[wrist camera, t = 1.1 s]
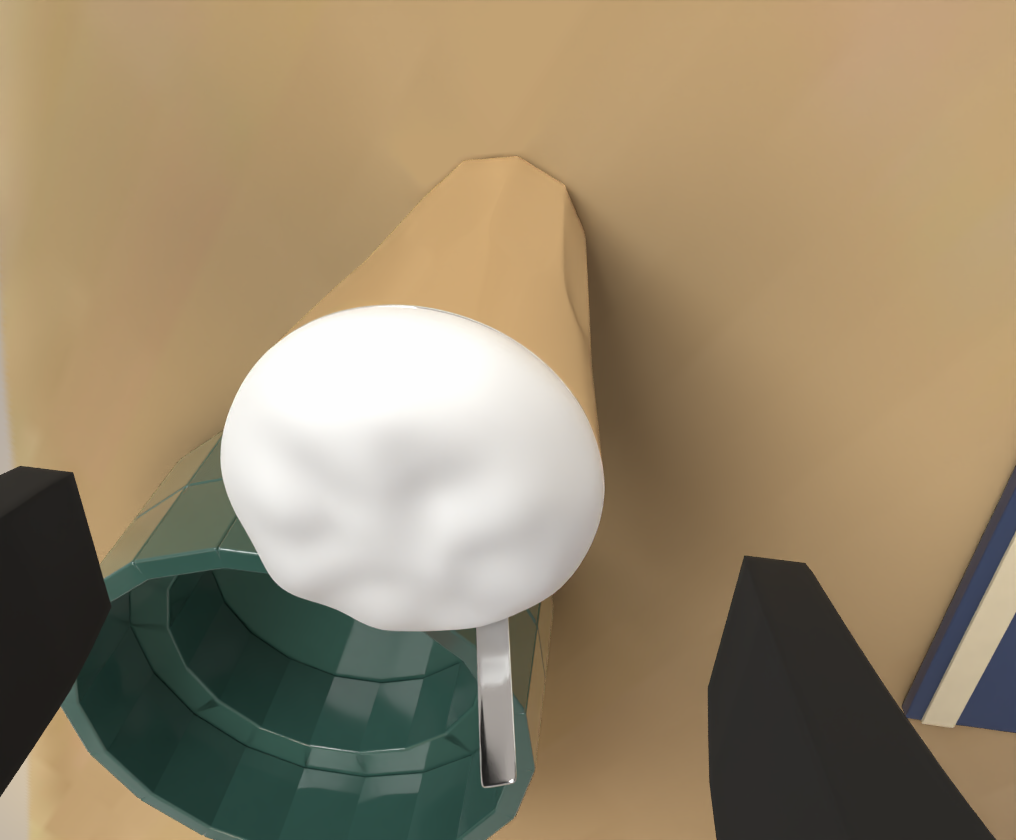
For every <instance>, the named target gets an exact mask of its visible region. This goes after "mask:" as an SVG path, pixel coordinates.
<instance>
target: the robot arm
mask: <svg viewBox="0 0 1016 840" xmlns="http://www.w3.org/2000/svg"><path fill="white" fill-rule="evenodd" d="M111 607H112V606H111V603H110V599H109V596H108V592H107V589H106V586H105V582H104V579H103V575H102V572H101V568H100V565H99V561H98V558H97V554H96V551H95V547H94V544H93V540H92V537H91V533H90V530H89V526H88V523H87V519H86V516H85V512H84V509H83V505H82V502H81V498H80V495H79V491H78V488H77V484H76V481H75V478H74V474H73V472H65V471H57V470H49V469H41V468H33V467H25V466H19V467H17V468H15V469H12V470H10V471H8V472H6V473H4V474H2V475H0V797H1V795H2V794H3V792H4V791H5V789H6V788H7V786H8V785H9V783H10V782H11V780H12V779H13V777H14V776H15V774H16V773H17V771H18V770H19V768H20V767H21V765H22V764H23V762H24V761H25V759H26V758H27V756H28V755H29V753H30V752H31V750H32V749H33V747H34V746H35V744H36V743H37V741H38V740H39V738H40V737H41V735H42V734H43V732H44V731H45V729H46V728H47V726H48V725H49V723H50V721H51V720H52V718H53V717H54V715H55V714H56V712H57V711H58V709H59V708H60V706H61V705H62V703H63V701H64V700H65V698H66V697H67V695H68V694H69V692H70V691H71V689H72V687H73V685H74V683H75V681H76V679H77V677H78V675H79V673H80V671H81V669H82V667H83V665H84V663H85V662H86V660H87V658H88V656H89V654H90V652H91V650H92V648H93V645H94V643H95V641H96V639H97V637H98V635H99V633H100V631H101V628H102V626H103V624H104V622H105V620H106V618H107V616H108V614H109V611H110V609H111ZM708 743H709V782H710V790H711V799H712V807H713V815H714V823H715V831H716V838H717V840H996V839H995V838H994V836H993V835H992V834H991V833H990V831H989V830H988V829H987V827H986V826H985V825H984V823H983V822H982V821H981V820H980V818H979V817H978V816H977V814H976V813H975V812H974V811H973V809H972V808H971V807H970V805H969V804H968V803H967V801H966V800H965V799H964V797H963V796H962V794H961V793H960V792H959V790H958V789H957V788H956V786H955V785H954V784H953V782H952V781H951V780H950V778H949V777H948V776H947V774H946V773H945V771H944V770H943V769H942V767H941V766H940V765H939V763H938V762H937V760H936V759H935V757H934V756H933V755H932V753H931V752H930V750H929V749H928V747H927V746H926V745H925V743H924V742H923V740H922V739H921V737H920V736H919V735H918V733H917V732H916V730H915V729H914V727H913V726H912V725H911V723H910V722H909V720H908V719H907V718H906V716H905V715H904V713H903V712H902V710H901V709H900V708H899V706H898V705H897V703H896V702H895V700H894V699H893V697H892V696H891V694H890V693H889V691H888V690H887V688H886V687H885V685H884V684H883V682H882V681H881V679H880V678H879V676H878V675H877V673H876V672H875V670H874V669H873V667H872V666H871V664H870V663H869V661H868V659H867V658H866V656H865V655H864V653H863V652H862V650H861V649H860V647H859V646H858V644H857V643H856V641H855V639H854V638H853V636H852V635H851V633H850V632H849V630H848V628H847V627H846V625H845V624H844V622H843V620H842V619H841V617H840V616H839V614H838V612H837V611H836V609H835V608H834V606H833V604H832V603H831V601H830V600H829V598H828V596H827V595H826V593H825V592H824V590H823V588H822V587H821V585H820V584H819V582H818V580H817V579H816V577H815V575H814V574H813V572H812V571H811V570H810V569H809V567H808V566H807V565H806V563H800V562H792V561H784V560H776V559H768V558H760V557H752V556H744V559H743V562H742V566H741V570H740V573H739V577H738V581H737V584H736V588H735V591H734V595H733V599H732V602H731V606H730V610H729V613H728V617H727V620H726V624H725V628H724V631H723V635H722V638H721V642H720V646H719V649H718V653H717V657H716V660H715V664H714V667H713V671H712V675H711V678H710V682H709V686H708Z"/></svg>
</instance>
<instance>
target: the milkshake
mask: <svg viewBox="0 0 1016 840" xmlns="http://www.w3.org/2000/svg"><path fill="white" fill-rule="evenodd" d="M220 459H221V471H222V477H223V481H224V485H225V489H226V492H227V495H228V497H229V500H230V502H231V505H232V507H233V509H234V511H235V513H236V515H237V517H238V519H239V520H240V522H241V524H242V525H243V527H244V529H245V531H246V532H247V534H248V536H249V538H250V540H251V542H252V543H253V545H254V547H255V549H256V551H257V553H258V555H259V557H260V559H261V561H262V563H263V564H264V566H265V568H266V570H267V572H268V573H269V575H270V576H271V578H272V579H273V580H274V581H275V582H276V583H277V584H278V585H279V586H280V587H281V588H282V589H284V590H285V591H287V592H289V593H291V594H293V595H295V596H297V597H300V598H303V599H306V600H309V601H312V602H316V603H319V604H322V605H326V606H328V607H331V608H334V609H336V610H338V611H341V612H343V613H345V614H346V615H348V616H350V617H352V618H354V619H356V620H358V621H359V622H362V623H364V624H366V625H368V626H371V627H374V628H377V629H381V630H387V631H443V630H459V629H469V628H476V652H477V685H478V717H479V750H480V776H481V785H482V787H483V788H491V787H497V786H503V785H508V784H512V783H514V782H515V781H516V752H515V733H514V714H513V695H512V676H511V657H510V638H509V620H508V617H510V616H513V615H515V614H517V613H519V612H522V611H524V610H526V609H528V608H530V607H532V606H534V605H536V604H538V603H540V602H542V601H543V600H545V599H546V598H548V597H549V596H551V595H552V594H554V593H555V592H556V591H557V590H559V589H560V588H561V587H562V586H563V585H564V584H565V583H566V582H567V581H568V580H569V578H570V577H571V576H572V575H573V574H574V572H575V571H576V570H577V568H578V567H579V565H580V564H581V562H582V561H583V559H584V557H585V555H586V554H587V552H588V550H589V548H590V546H591V544H592V542H593V539H594V537H595V534H596V532H597V529H598V526H599V522H600V519H601V514H602V509H603V503H604V492H605V484H604V472H603V465H602V455H601V445H600V436H599V427H598V418H597V409H596V400H595V390H594V381H593V371H592V359H591V335H590V313H589V293H588V274H587V255H586V238H585V232H584V230H583V227H582V225H581V223H580V220H579V218H578V216H577V213H576V211H575V208H574V206H573V204H572V201H571V199H570V196H569V194H568V192H567V189H566V187H565V185H564V184H563V183H561V182H560V181H558V180H556V179H555V178H553V177H551V176H550V175H548V174H546V173H545V172H543V171H542V170H540V169H538V168H537V167H535V166H533V165H532V164H530V163H529V162H527V161H525V160H524V159H522V158H520V157H519V156H511V157H499V158H487V159H473V160H464V161H462V162H461V163H460V164H459V165H458V166H457V167H456V168H455V169H454V170H453V171H452V172H451V173H450V174H448V175H447V176H446V177H445V178H444V179H443V180H442V181H441V182H440V183H439V184H438V185H436V186H435V187H434V188H433V189H432V190H431V191H430V192H429V193H428V194H426V195H425V196H424V197H423V198H422V199H421V201H420V202H419V203H418V204H417V205H416V206H415V207H414V208H413V209H412V210H411V211H410V212H409V214H408V215H407V216H406V217H405V218H404V219H403V220H402V221H401V222H400V223H399V224H398V226H397V227H396V228H395V229H394V230H393V231H392V232H391V233H390V234H389V235H388V236H387V238H386V239H385V240H384V241H383V242H382V243H381V244H380V245H379V246H378V247H377V248H376V249H375V251H374V252H373V253H372V254H371V255H370V256H369V257H368V258H367V259H366V260H365V261H364V262H363V264H361V265H360V266H359V267H358V268H356V269H355V270H354V271H353V272H351V273H350V274H349V275H348V276H347V277H346V278H345V279H343V280H342V281H341V282H340V283H339V284H338V285H337V286H336V287H335V288H334V289H333V290H331V291H330V292H329V293H328V294H327V295H326V296H325V297H324V298H323V299H322V300H321V301H320V302H319V303H318V304H317V305H315V306H314V307H313V308H312V309H311V310H310V311H309V312H308V313H307V314H306V315H305V316H304V317H303V318H302V319H301V320H300V321H299V322H297V323H296V324H295V325H294V326H293V327H292V328H291V329H290V330H289V331H288V332H287V333H286V334H285V335H284V336H283V337H282V338H281V339H280V340H279V341H277V342H276V343H275V344H274V345H273V346H272V347H271V349H269V350H268V351H267V352H266V353H265V354H264V355H263V356H262V357H261V358H260V359H259V361H258V362H257V363H256V364H255V365H254V367H253V368H252V369H251V371H250V372H249V374H248V375H247V377H246V378H245V380H244V381H243V383H242V385H241V387H240V388H239V390H238V392H237V394H236V396H235V399H234V401H233V403H232V406H231V408H230V411H229V413H228V417H227V420H226V423H225V427H224V431H223V435H222V441H221V456H220Z"/></svg>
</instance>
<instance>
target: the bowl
mask: <svg viewBox="0 0 1016 840" xmlns="http://www.w3.org/2000/svg"><path fill="white" fill-rule="evenodd" d="M223 431H224V430H223ZM223 431H221V432H220V433H218V434H217V435H215V436H214V437H212V438H211V439H209V440H208V441H206V442H205V443H203V444H202V445H201V446H199V447H198V448H196V449H195V450H193V451H192V452H190V453H189V454H187V455H186V456H184V457H183V458H181V460H180V461H179V462H178V463H177V464H176V465H175V466H174V468H173V469H172V470H171V472H170V473H169V474H168V476H167V477H166V478H165V480H164V481H163V482H162V484H161V485H160V486H159V488H158V489H157V490H156V492H155V493H154V494H153V495H152V497H151V498H150V499H149V501H148V502H147V503H146V505H145V506H144V507H143V509H142V510H141V511H140V513H139V514H138V515H137V517H136V518H135V519H134V521H133V522H132V523H131V524H130V525H129V527H128V528H127V529H126V531H125V532H124V533H123V535H122V536H121V537H120V539H119V540H118V541H117V543H116V544H115V545H114V547H113V548H112V549H111V550H110V552H109V553H108V554H107V556H106V557H105V558H104V560H103V561H102V562H101V564H100V568H101V572H102V575H103V579H104V582H105V586H106V589H107V592H108V596H109V599H110V603H111V606H112V607H111V609H110V611H109V614H108V616H107V618H106V620H105V622H104V624H103V626H102V628H101V631H100V633H99V635H98V637H97V639H96V641H95V643H94V645H93V648H92V650H91V652H90V654H89V656H88V658H87V660H86V662H85V663H84V665H83V667H82V669H81V671H80V673H79V675H78V677H77V679H76V681H75V683H74V685H73V687H72V689H71V691H70V692H69V694H68V695H67V697H66V698H65V700H64V701H63V703H62V705H61V708H62V709H63V711H64V713H65V714H66V716H67V718H68V719H69V721H70V723H71V724H72V726H73V728H74V729H75V731H76V733H77V734H78V736H79V738H80V739H81V741H82V743H83V744H84V746H85V748H86V749H87V751H88V752H89V753H90V755H91V756H92V757H93V758H95V759H96V760H97V761H98V762H99V763H100V764H101V765H102V766H103V767H104V768H106V769H107V770H108V771H109V772H110V773H111V774H112V775H113V776H114V777H115V778H117V779H118V780H119V781H120V782H121V783H122V784H123V785H124V786H125V787H126V788H128V789H129V790H130V791H131V792H132V793H133V794H134V795H135V796H136V797H137V798H139V799H141V800H142V801H143V802H145V803H147V804H148V805H150V806H152V807H153V808H155V809H157V810H159V811H160V812H162V813H164V814H166V815H167V816H169V817H171V818H173V819H174V820H176V821H178V822H180V823H181V824H183V825H185V826H187V827H188V828H190V829H192V830H193V831H195V832H197V833H199V834H200V835H204V836H205V837H207V838H210V839H213V840H487V839H488V838H489V837H491V836H492V835H493V834H495V833H496V832H497V831H498V830H500V829H501V828H502V827H504V826H505V825H506V824H507V823H509V822H510V821H511V820H513V819H514V817H515V816H516V815H517V812H518V810H519V808H520V805H521V803H522V801H523V798H524V796H525V793H526V791H527V789H528V786H529V784H530V782H531V779H532V777H533V775H534V772H535V768H536V760H537V751H538V742H539V734H540V725H541V716H542V708H543V699H544V690H545V680H546V672H547V663H548V654H549V646H550V637H551V628H552V619H553V611H554V607H553V599H552V595H551V596H549V597H548V598H546V599H545V600H543V601H542V602H540V603H538V604H536V605H534V606H532V607H530V608H528V609H526V610H524V611H522V612H519V613H517V614H515V615H513V616H510V617H508V620H509V638H510V657H511V676H512V695H513V714H514V733H515V752H516V781H515V782H514V783H512V784H508V785H503V786H497V787H491V788H483V787H482V785H481V776H480V750H479V717H478V685H477V652H476V628H469V629H459V630H443V631H387V630H381V629H377V628H374V627H371V626H368V625H366V624H364V623H362V622H359V621H358V620H356V619H354V618H352V617H350V616H348V615H346V614H345V613H343V612H341V611H338V610H336V609H334V608H331V607H328V606H326V605H322V604H319V603H316V602H312V601H309V600H306V599H303V598H300V597H297V596H295V595H293V594H291V593H289V592H287V591H285V590H284V589H282V588H281V587H280V586H279V585H278V584H277V583H276V582H275V581H274V580H273V579H272V578H271V576H270V575H269V573H268V572H267V570H266V568H265V566H264V564H263V563H262V561H261V559H260V557H259V555H258V553H257V551H256V549H255V547H254V545H253V543H252V542H251V540H250V538H249V536H248V534H247V532H246V531H245V529H244V527H243V525H242V524H241V522H240V520H239V519H238V517H237V515H236V513H235V511H234V509H233V507H232V505H231V502H230V500H229V497H228V495H227V492H226V489H225V485H224V481H223V477H222V471H221V459H220V456H221V441H222V435H223Z"/></svg>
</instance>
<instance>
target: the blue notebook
mask: <svg viewBox="0 0 1016 840" xmlns="http://www.w3.org/2000/svg"><path fill="white" fill-rule="evenodd" d="M902 708H903V711H904V715H905V716H906V718H911V719H918V720H921V723H922V724H928V725H935V726H942V727H949V728H954V726H955V725H962V726H969V727H977V728H984V729H991V730H998V731H1006V732H1013V733H1016V466H1015V468H1014V470H1013V473H1012V475H1011V477H1010V479H1009V481H1008V483H1007V485H1006V487H1005V489H1004V492H1003V494H1002V496H1001V498H1000V500H999V502H998V504H997V506H996V508H995V511H994V513H993V515H992V517H991V519H990V521H989V523H988V525H987V527H986V529H985V532H984V534H983V536H982V538H981V540H980V542H979V544H978V546H977V548H976V551H975V553H974V555H973V557H972V559H971V561H970V563H969V565H968V567H967V570H966V572H965V574H964V576H963V578H962V580H961V582H960V584H959V586H958V589H957V591H956V593H955V595H954V597H953V599H952V601H951V603H950V605H949V608H948V610H947V612H946V614H945V616H944V618H943V620H942V622H941V624H940V627H939V629H938V631H937V633H936V635H935V637H934V639H933V641H932V643H931V646H930V648H929V650H928V652H927V654H926V656H925V658H924V660H923V662H922V665H921V667H920V669H919V671H918V673H917V675H916V677H915V679H914V681H913V684H912V686H911V688H910V690H909V692H908V694H907V696H906V698H905V700H904V702H903V705H902Z"/></svg>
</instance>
